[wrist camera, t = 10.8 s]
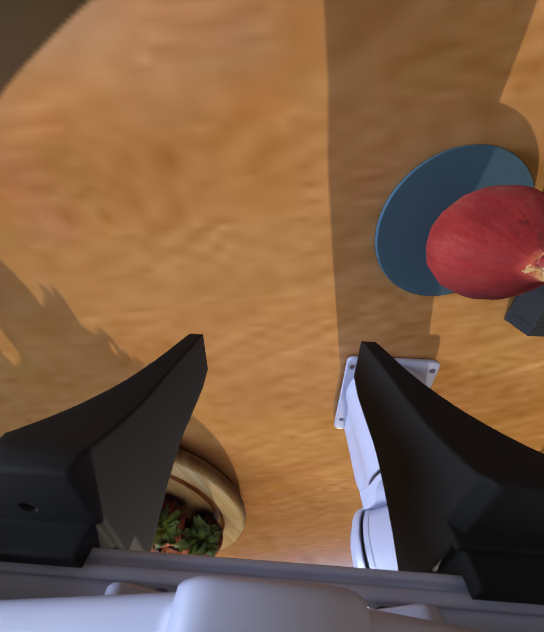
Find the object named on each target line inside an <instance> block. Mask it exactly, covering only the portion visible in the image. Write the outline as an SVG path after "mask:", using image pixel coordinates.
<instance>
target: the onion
mask: <svg viewBox="0 0 544 632" xmlns="http://www.w3.org/2000/svg"><path fill="white" fill-rule="evenodd" d="M426 259H427V265H428V267H429V268H430V270H431V272H432V273H433V275H434V276H435V278H436V279H437V281H438V283H439V284H440V285H442V286H443V287H445V288H447V289H449V290H451V291H453V292H455V293H458V294H460V295H462V296H465V297H469V298H473V299H490V300H497V299H504V298H509V297H513V296H517V295H521V294H523V293H526V292H529V291H532V290H534V289H536V288H538V287H540V286H542V285H544V192H542V191H539V190H537V189H535V188H533V187H531V186H524V185H497V186H490V187H484V188H482V189H479V190H477V191H474V192H471V193H469V194H466V195H464V196H463V197H461V198H460V199H459V200H457V201H456V202H455V203H453V204H452V205H451V206H449V207H448V208H447V209H446V210H444V211H443V212H442V213H441V215H440V216H439V217H438V219H437V220H436V221H435V223H434V224H433V225H432V227H431V230H430V233H429V237H428V240H427V244H426Z"/></svg>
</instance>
